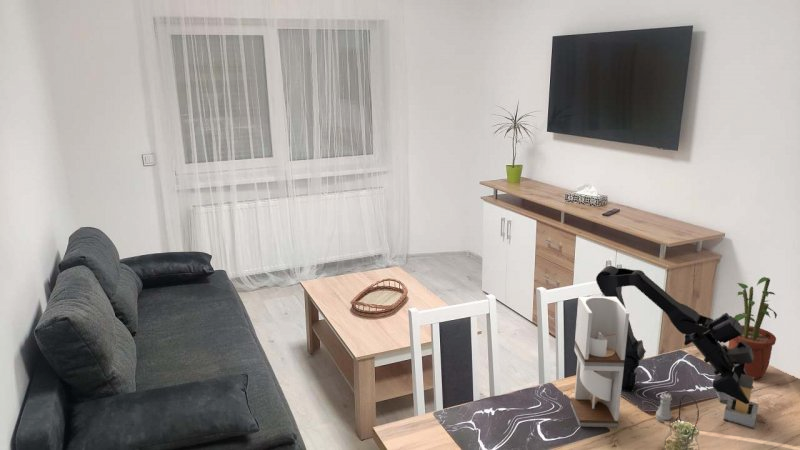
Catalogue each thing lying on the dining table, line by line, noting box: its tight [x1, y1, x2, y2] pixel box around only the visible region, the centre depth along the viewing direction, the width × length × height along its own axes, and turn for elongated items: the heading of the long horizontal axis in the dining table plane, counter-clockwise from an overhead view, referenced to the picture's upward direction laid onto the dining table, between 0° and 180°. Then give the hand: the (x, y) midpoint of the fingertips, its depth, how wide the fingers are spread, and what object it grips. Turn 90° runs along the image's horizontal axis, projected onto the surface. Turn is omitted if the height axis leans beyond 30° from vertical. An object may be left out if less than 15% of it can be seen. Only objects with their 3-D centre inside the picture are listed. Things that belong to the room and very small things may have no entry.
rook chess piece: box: [654, 391, 673, 424], centre depth 164 cm, size 4×4×8 cm
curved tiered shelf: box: [569, 295, 630, 428], centre depth 162 cm, size 11×11×35 cm
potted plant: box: [727, 276, 778, 380], centre depth 184 cm, size 17×16×35 cm
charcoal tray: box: [714, 389, 730, 404], centre depth 173 cm, size 6×7×2 cm
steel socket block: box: [723, 396, 760, 430], centre depth 163 cm, size 7×8×4 cm
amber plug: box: [735, 374, 755, 414], centre depth 162 cm, size 3×4×12 cm
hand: (749, 395), depth 161 cm, fingers open, 9 cm apart
